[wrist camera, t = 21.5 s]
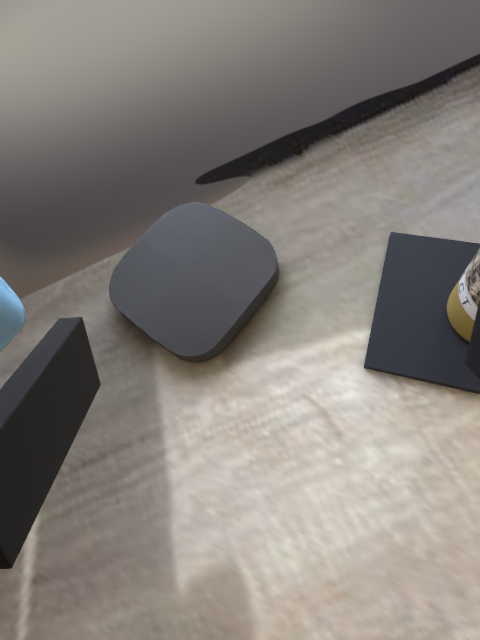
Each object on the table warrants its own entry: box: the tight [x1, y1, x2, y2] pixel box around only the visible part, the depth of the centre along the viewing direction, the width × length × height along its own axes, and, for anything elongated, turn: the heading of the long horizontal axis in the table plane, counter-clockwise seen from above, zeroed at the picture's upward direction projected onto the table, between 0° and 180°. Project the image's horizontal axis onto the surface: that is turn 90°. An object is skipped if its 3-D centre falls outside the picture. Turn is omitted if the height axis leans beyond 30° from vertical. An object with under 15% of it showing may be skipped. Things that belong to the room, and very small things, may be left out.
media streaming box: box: [109, 203, 279, 362], centre depth 41 cm, size 15×15×3 cm
